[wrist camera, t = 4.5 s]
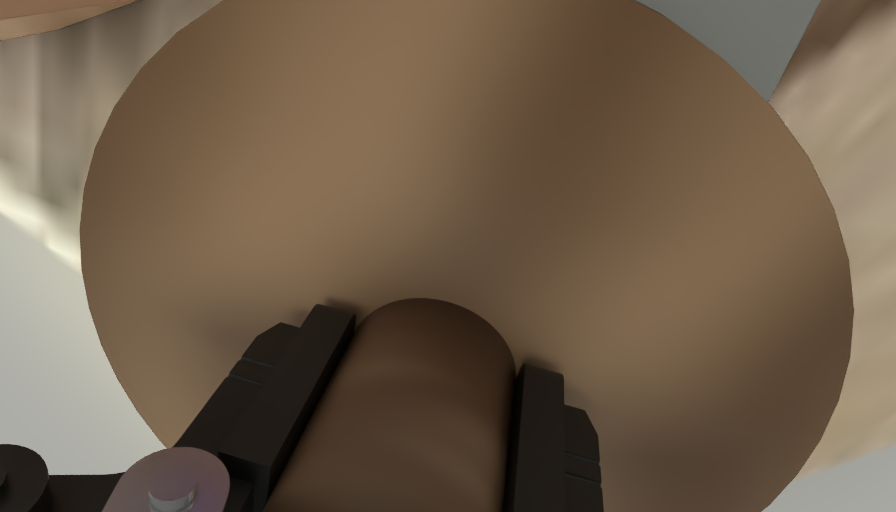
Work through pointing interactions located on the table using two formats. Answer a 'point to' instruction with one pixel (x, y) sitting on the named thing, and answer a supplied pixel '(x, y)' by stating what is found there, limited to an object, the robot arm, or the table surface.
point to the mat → (745, 32)
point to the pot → (48, 14)
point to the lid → (473, 246)
